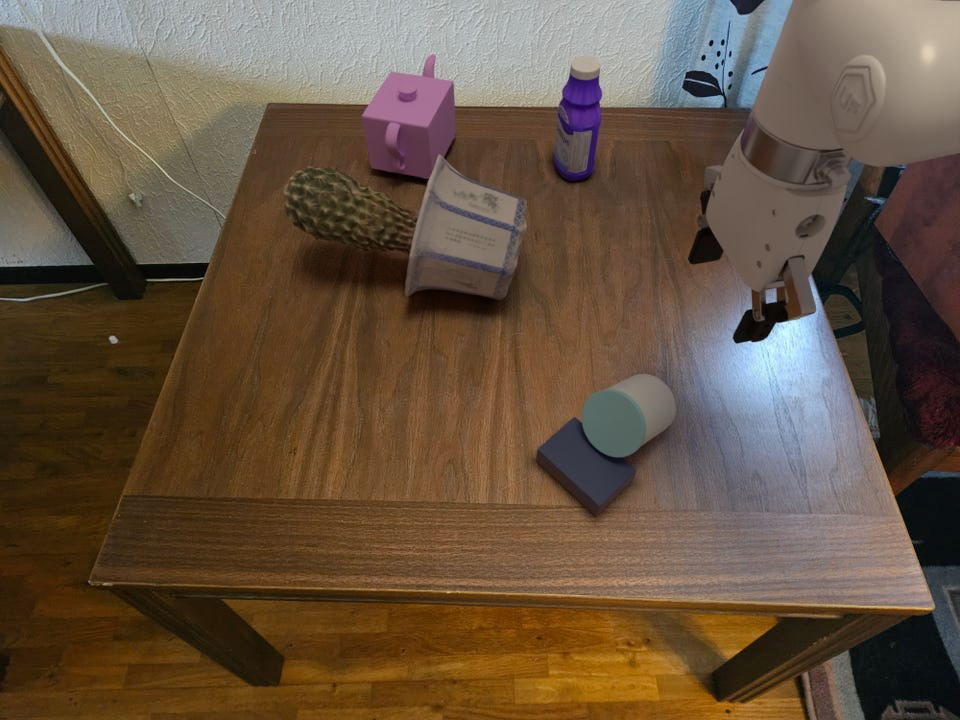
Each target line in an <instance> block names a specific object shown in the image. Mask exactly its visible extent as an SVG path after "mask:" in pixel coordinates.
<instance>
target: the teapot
mask: <svg viewBox="0 0 960 720" xmlns="http://www.w3.org/2000/svg"><path fill="white" fill-rule="evenodd" d="M436 60H437V56H436V55H435V54H430V55H429V56H428V57H427V58H426V60H425V62H424V65H423V71H422V74H421V75H417V74H411V73H404V72H398V71H392V70H391V71H390V72H389V74H388V75H387V76H386V78H385V80H384V81H383V82H382V84H381V85H380V86H379V88H378V90H377V91H376V93H375V94H374V96H373V98H372V99H371V101H370V102H369V104H368V105H367V107H366V108H365V110H364V111H363V113H362V115H361V122H362V123H361V124H362V128H363V133H364V138H365V144H366V149H367V154H368V160H369V166H370V169H375V170H379V171H385V172H387V173H396V174H401V175H407V176H413V177H416V178H417V177H418V178H421V179H424V180H429V178H430V176H431V174H432V171H433V168H434V166H435V163H436V160H437V157H438V155H441V156H442V157H443V158H444V159H445V156H446V154H447V152H448V150H449V148H450V146H451V144H452V142H453V141H454V138H455V136H456V134H457V123H456V104H455V103H456V101H455V84H454V80H448V79H442V78H436V77H435V65H436Z"/></svg>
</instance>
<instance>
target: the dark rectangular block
mask: <svg viewBox="0 0 960 720" xmlns="http://www.w3.org/2000/svg"><path fill="white" fill-rule="evenodd" d="M535 457H536V458H535V462H536V463H537V464H538V465H539V466H540V467H541V468H543V470H545V471H546V472H547V473H548V474H549V475H550V476H551V477H552V478H553V479H555V480H556V482H557V483H559V484H560V485H561V486H562V487H563V488H564V489H565V490H566V491H567V492H568V493H570V494H571V496H573V497H574V498H575V499H576V500H577V501H578V502H579V503H580V504H581V505H582V506H583V507H585V508H586V510H587V511H589V512H590V513H591V514H592V515H593V516H594V517H595V518H597V517H598V516H599V515H600V514H601V513H602V512H603V511H604V510H605V509H606V508H607V507H608V506H609V505H610V504H611V503H612V502H613V501H614V500H615V499H616V498H617V497H618V496H619V495H620V494H622V492H623V491H625V489H627V488H628V486H630V485H631V483H633V480H634V479H635V476H636V474H637V471H638V470H637V468H636V467H634V466H633V465H632V464H631V463H630V462H628V461H627V460H626V459H625V457H611V456H608V455H606V454H604V453H602V452H600V451H599V450H598V449H596V448H595V447H594V446H593V445H592V444H591V442H590V441H589V440H588V438H587V436H586V434H585V432H584V429H583V426H582V421H580V419H578V418H577V417H576V416H573V417H572V418H571V419H570V420H568V421H567V423H566V424H564V425H563V426H562V427H561V428H559V429H558V431H556V432H555V433H554V434H552V436H551V437H549V438H548V439H547V440H546V441H545V442H544V443H542V444H541V445H540V446H539V447H538V448H537V449H536V456H535Z"/></svg>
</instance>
